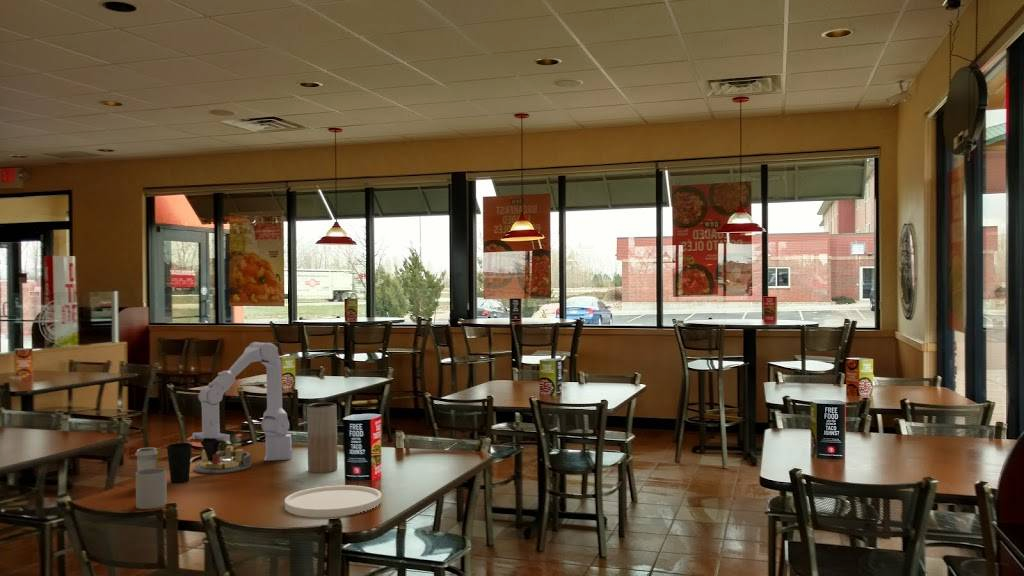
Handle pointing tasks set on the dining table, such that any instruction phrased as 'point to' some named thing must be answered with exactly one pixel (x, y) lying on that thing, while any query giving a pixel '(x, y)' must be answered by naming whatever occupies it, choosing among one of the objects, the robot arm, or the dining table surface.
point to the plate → (332, 501)
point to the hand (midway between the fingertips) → (211, 460)
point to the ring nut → (216, 457)
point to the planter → (322, 437)
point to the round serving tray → (226, 459)
